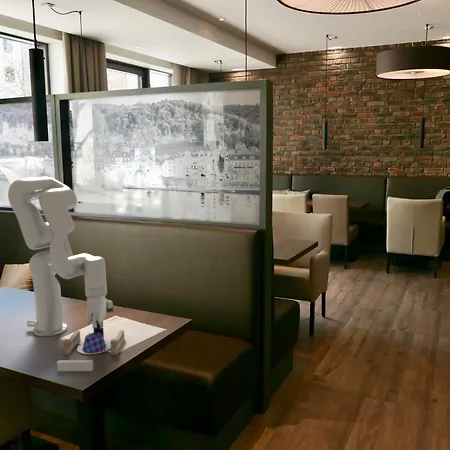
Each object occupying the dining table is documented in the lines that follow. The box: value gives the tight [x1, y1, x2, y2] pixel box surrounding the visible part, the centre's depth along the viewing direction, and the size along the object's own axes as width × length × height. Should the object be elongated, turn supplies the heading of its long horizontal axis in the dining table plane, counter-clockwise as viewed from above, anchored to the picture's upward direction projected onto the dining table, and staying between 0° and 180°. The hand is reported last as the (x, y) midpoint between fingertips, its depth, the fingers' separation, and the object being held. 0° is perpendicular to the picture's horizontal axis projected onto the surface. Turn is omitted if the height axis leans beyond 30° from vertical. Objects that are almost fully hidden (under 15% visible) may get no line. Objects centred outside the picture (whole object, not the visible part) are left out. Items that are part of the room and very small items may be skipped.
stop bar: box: [56, 359, 94, 372], centre depth 155 cm, size 11×2×3 cm, turn 89°
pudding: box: [76, 331, 111, 355], centre depth 172 cm, size 12×12×5 cm
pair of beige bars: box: [61, 330, 125, 356], centre depth 173 cm, size 18×14×5 cm
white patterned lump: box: [105, 297, 114, 310], centre depth 214 cm, size 8×10×10 cm
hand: (99, 338), depth 177 cm, fingers closed
